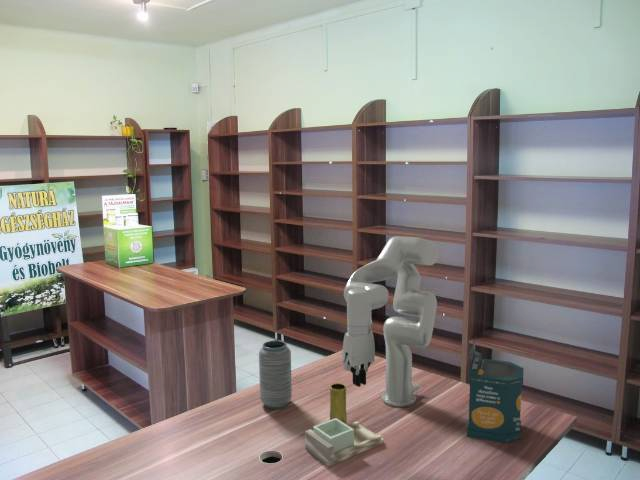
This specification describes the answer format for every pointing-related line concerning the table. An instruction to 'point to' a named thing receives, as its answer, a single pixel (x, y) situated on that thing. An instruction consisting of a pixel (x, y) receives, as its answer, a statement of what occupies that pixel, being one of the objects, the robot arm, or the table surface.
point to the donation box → (494, 399)
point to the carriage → (336, 434)
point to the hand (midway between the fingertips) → (359, 383)
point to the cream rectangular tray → (361, 443)
